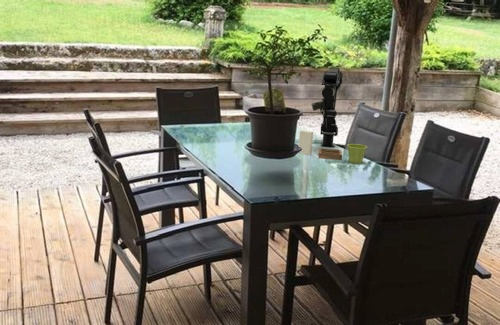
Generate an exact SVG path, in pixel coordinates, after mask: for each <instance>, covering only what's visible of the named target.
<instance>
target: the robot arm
mask: <svg viewBox="0 0 500 325" xmlns="http://www.w3.org/2000/svg"><path fill="white" fill-rule="evenodd" d="M343 82H344V74H343V73H342V71H341V69H340V68H339V67H333V66H332V67H330V68H329V71H328V70H326V71H324V73H323V75H322V82H321V86H324V88H323V89H322V90H321V95H322V98H321V100H320V101H316V102H313V103H311V104H310V105H311V108H312V110H313V111H314V112H315V111H317V110H319V112H320V114H321V115H322V123H320V135H321V136H322V142H321V143H320V145H321V147H326V148H334V147H335V145H334V138H335V137H336V136H338V135H339V134H338V133H339V127H338V125H337V120H336V117H337V111H336V107H337V106H336V105H337V98H338V92H339V91H340V90H341V88H342V85H343Z"/></svg>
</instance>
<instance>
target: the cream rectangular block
mask: <svg viewBox="0 0 500 325" xmlns="http://www.w3.org/2000/svg"><path fill="white" fill-rule="evenodd" d="M313 139H314V131H311V130H305V129H300V130H299V136H298V147H301V148H302V151H301V152H300V153H299V154H303V155H312V151H313V141H314V140H313Z"/></svg>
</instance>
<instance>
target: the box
mask: <svg viewBox="0 0 500 325" xmlns="http://www.w3.org/2000/svg"><path fill="white" fill-rule="evenodd" d="M317 154H318V159H324V160H337V161H342V160H343V153H342V149H335V148H333V149H332V148H322V147H320V148H318V153H317Z"/></svg>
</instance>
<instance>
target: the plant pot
mask: <svg viewBox="0 0 500 325" xmlns="http://www.w3.org/2000/svg"><path fill="white" fill-rule="evenodd" d="M346 146H347V149H348V163H350V164H356V165H357V164H358V165H359V164H363V160H364V156H365V153H366V151H367V148H368V146H367V145H364V144H358V143H350V144H349V143H348V144H346Z"/></svg>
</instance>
